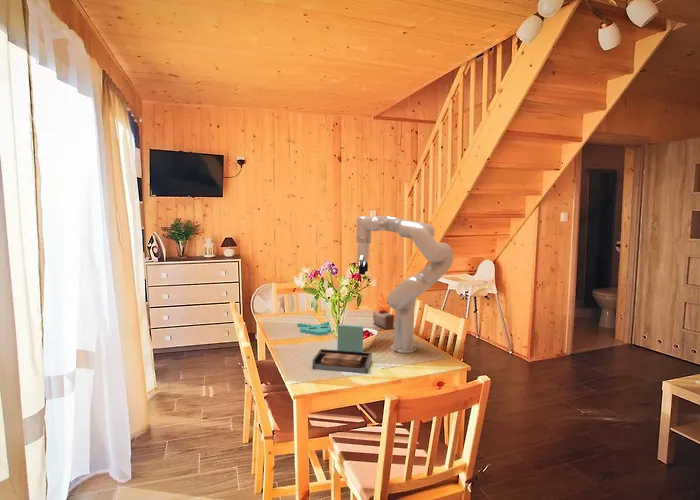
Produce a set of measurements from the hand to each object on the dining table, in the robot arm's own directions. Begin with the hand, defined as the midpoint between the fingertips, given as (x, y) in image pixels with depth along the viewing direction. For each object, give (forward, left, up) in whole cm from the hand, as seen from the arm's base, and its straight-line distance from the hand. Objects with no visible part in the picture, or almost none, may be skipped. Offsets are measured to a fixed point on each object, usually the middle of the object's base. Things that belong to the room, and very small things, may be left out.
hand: (363, 272), depth 222 cm
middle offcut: (+4, +39, -34) cm, 52 cm away
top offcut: (+2, +39, -32) cm, 51 cm away
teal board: (+3, +20, -36) cm, 42 cm away
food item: (-8, -29, -37) cm, 47 cm away
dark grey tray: (+3, +37, -36) cm, 52 cm away
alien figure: (+28, -14, -37) cm, 49 cm away
